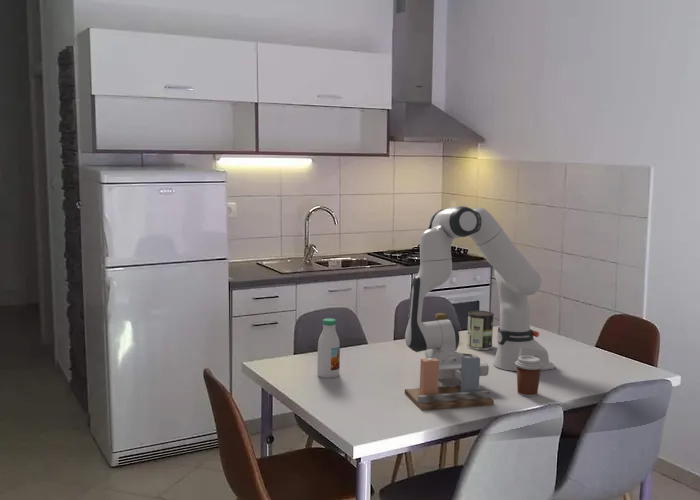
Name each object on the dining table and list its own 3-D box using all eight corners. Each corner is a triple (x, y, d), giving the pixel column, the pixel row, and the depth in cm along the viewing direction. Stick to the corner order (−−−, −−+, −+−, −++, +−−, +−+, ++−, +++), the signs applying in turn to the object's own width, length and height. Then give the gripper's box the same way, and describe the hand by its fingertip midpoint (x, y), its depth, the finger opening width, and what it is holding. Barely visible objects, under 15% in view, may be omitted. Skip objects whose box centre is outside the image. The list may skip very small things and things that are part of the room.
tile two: (474, 391, 238) (476, 355, 237) (478, 394, 235) (480, 357, 234) (460, 392, 237) (461, 355, 235) (464, 395, 234) (465, 358, 232)
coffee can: (489, 343, 304) (491, 310, 302) (494, 350, 294) (495, 316, 292) (464, 343, 304) (466, 309, 302) (468, 349, 294) (470, 315, 292)
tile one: (434, 394, 235) (435, 357, 233) (437, 397, 232) (439, 360, 230) (419, 395, 233) (420, 358, 232) (422, 398, 230) (424, 360, 229)
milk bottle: (323, 379, 252) (324, 322, 250) (313, 373, 259) (314, 318, 256) (343, 376, 256) (344, 320, 253) (333, 370, 263) (334, 316, 260)
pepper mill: (446, 341, 307) (448, 315, 306) (432, 340, 308) (433, 314, 307) (448, 337, 313) (449, 312, 311) (433, 336, 314) (434, 311, 313)
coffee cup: (529, 400, 236) (531, 364, 234) (507, 392, 243) (509, 357, 242) (547, 395, 241) (549, 359, 240) (525, 387, 249) (527, 353, 247)
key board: (472, 388, 246) (473, 378, 245) (493, 405, 230) (494, 394, 230) (404, 393, 240) (405, 383, 239) (421, 410, 224) (422, 399, 224)
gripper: (422, 357, 248) (437, 369, 235) (478, 354, 253) (496, 365, 240) (421, 375, 249) (437, 388, 235) (477, 371, 254) (495, 384, 241)
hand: (467, 376), depth 238 cm, fingers closed
